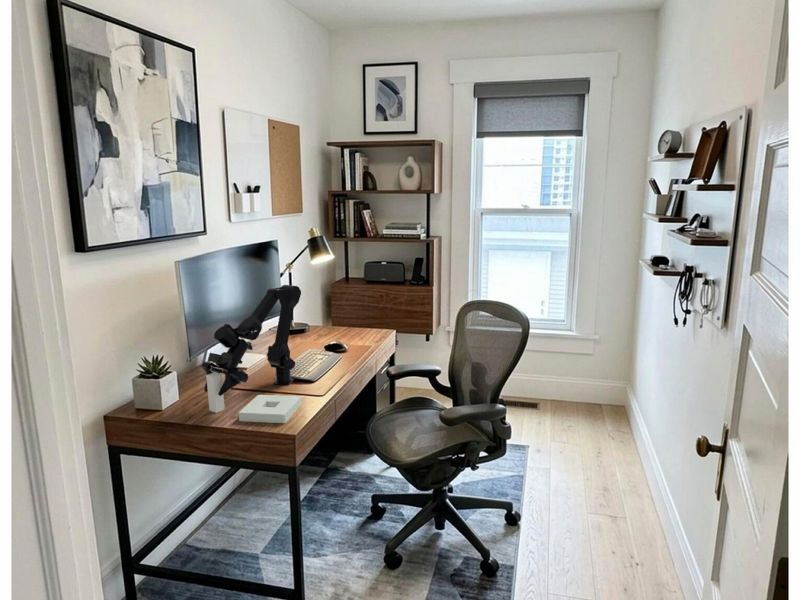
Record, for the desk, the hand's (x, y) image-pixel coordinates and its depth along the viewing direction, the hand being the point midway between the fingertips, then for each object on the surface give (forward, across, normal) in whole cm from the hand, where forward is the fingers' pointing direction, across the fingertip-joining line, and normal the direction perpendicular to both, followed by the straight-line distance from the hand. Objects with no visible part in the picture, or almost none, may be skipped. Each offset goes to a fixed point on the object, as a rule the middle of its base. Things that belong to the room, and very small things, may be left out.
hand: (212, 393), depth 184 cm
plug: (+4, 0, +6) cm, 7 cm away
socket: (-2, +18, +11) cm, 22 cm away
